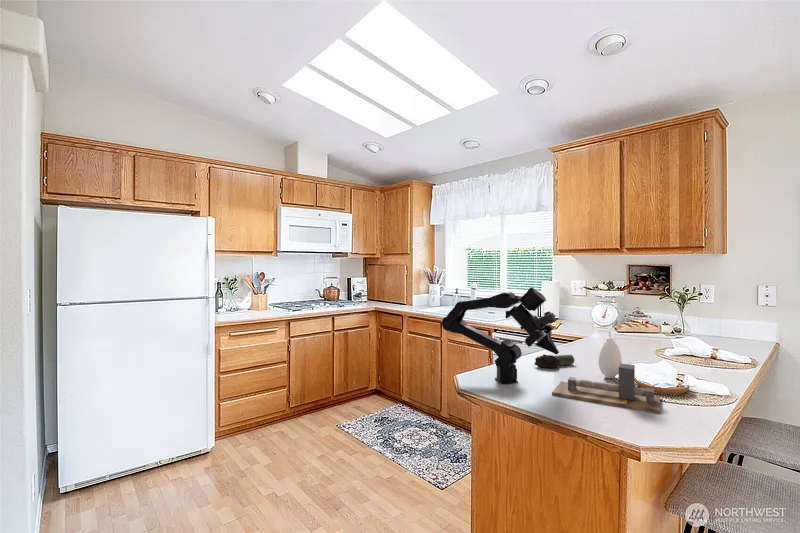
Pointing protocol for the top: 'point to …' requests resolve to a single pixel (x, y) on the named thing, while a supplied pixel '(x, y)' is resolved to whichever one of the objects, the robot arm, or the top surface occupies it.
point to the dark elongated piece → (553, 361)
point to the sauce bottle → (609, 358)
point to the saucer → (664, 390)
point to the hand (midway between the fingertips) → (557, 353)
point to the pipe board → (607, 394)
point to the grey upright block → (626, 381)
